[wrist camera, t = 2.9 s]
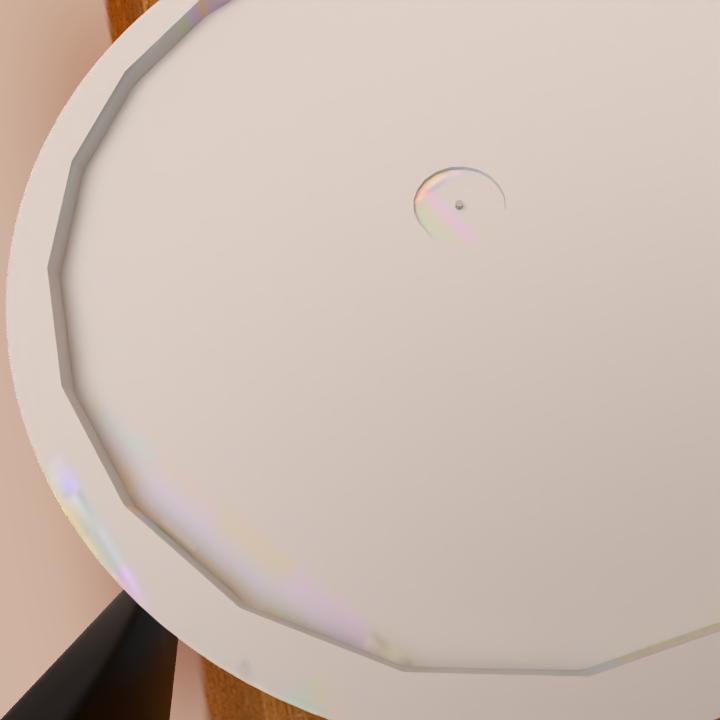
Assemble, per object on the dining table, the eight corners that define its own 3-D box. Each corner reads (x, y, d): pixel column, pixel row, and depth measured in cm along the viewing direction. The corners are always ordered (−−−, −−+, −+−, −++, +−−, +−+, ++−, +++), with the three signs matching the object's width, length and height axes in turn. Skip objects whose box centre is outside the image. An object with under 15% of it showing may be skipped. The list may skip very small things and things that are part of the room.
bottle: (303, 396, 19) (-14, -57, 5) (499, 362, 19) (780, -222, 4) (329, 611, 16) (-163, 992, 2) (554, 575, 16) (1535, 754, 2)
